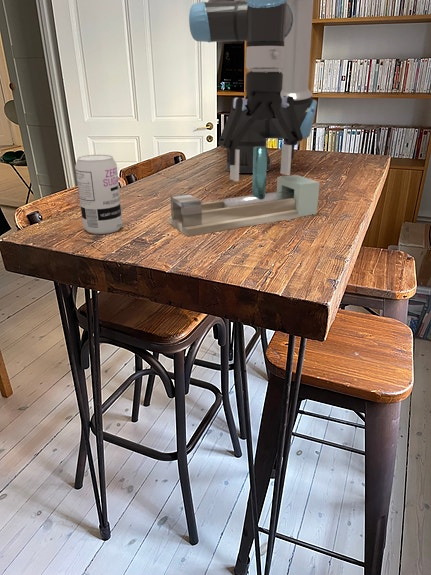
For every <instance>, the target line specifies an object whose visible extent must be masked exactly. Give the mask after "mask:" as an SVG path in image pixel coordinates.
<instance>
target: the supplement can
mask: <svg viewBox="0 0 431 575" xmlns="http://www.w3.org/2000/svg"><path fill="white" fill-rule="evenodd" d="M76 159H77V160H76V163H75V165H74V166H75V168H74V169H75V175H76V183H77V190H78V197H79V206H80V211H81V212H80V213H81V219H82V220H81V221H82V227H83V229H84V230H86V232H88V233H90V234H94V235H105V234H106V235H107V234H112V233H115V232H118V231H119V230H120V229H121V228H122V226H123V224H124V223H123V217H122V216H123V215H122V204H121V203H122V202H121V197H120V196H121V195H120V185H119V176H118V166H117V165H118V164H117V162H116V161H115V159H114V158H113V155H110V154H86V155H82V156H77V158H76Z"/></svg>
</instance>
